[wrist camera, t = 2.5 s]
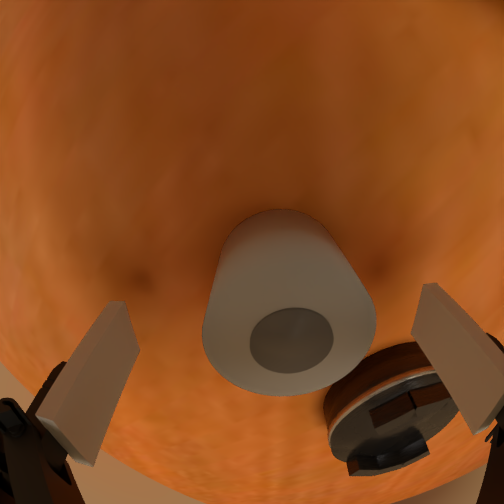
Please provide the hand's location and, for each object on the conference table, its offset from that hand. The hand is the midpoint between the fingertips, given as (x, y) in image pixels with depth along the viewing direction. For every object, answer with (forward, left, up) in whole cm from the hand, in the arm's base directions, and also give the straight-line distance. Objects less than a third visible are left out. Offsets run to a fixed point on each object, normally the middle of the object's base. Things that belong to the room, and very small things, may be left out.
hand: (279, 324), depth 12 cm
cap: (0, 0, -4) cm, 4 cm away
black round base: (+12, +9, -4) cm, 15 cm away
